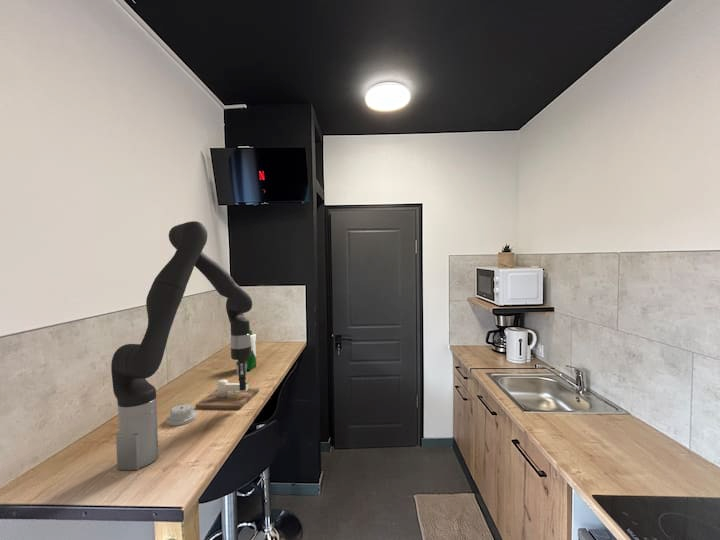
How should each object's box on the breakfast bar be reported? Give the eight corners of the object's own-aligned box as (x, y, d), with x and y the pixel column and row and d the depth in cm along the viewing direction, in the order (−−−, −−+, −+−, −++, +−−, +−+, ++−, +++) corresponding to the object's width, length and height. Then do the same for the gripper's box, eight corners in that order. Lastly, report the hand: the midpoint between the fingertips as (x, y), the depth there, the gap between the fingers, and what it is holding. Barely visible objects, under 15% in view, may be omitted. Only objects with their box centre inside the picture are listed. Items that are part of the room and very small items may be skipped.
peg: (245, 397, 138) (245, 382, 138) (216, 397, 139) (215, 382, 139) (249, 393, 142) (249, 379, 142) (220, 393, 143) (220, 379, 143)
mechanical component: (159, 425, 120) (184, 427, 118) (159, 413, 120) (184, 414, 118) (179, 413, 130) (203, 414, 128) (179, 401, 129) (202, 403, 127)
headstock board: (240, 409, 131) (240, 404, 131) (195, 408, 133) (195, 404, 133) (258, 391, 149) (258, 387, 149) (219, 391, 151) (219, 387, 151)
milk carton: (258, 366, 186) (257, 330, 186) (250, 371, 177) (249, 333, 177) (243, 366, 188) (242, 330, 187) (235, 371, 179) (233, 333, 178)
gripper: (251, 348, 128) (253, 394, 128) (250, 340, 140) (252, 382, 141) (230, 350, 125) (232, 397, 126) (231, 342, 138) (232, 385, 138)
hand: (242, 389), depth 133 cm, fingers closed
